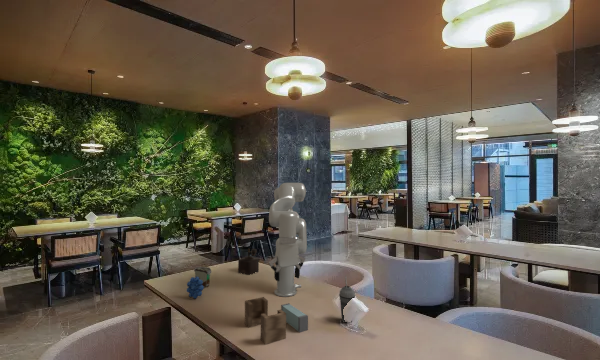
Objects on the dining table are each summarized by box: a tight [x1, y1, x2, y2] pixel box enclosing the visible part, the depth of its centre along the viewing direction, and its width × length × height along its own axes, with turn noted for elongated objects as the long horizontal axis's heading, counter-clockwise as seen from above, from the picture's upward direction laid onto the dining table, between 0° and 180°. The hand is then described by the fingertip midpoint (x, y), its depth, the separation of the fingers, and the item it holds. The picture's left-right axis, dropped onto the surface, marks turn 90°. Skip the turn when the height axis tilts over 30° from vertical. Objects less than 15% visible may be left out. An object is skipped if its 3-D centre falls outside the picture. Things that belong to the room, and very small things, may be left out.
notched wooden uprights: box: [244, 296, 287, 345], centre depth 132 cm, size 9×21×10 cm, turn 32°
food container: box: [193, 266, 212, 288], centre depth 191 cm, size 12×6×10 cm, turn 58°
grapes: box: [186, 276, 205, 300], centre depth 169 cm, size 12×7×12 cm, turn 63°
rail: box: [280, 302, 309, 333], centre depth 139 cm, size 4×16×6 cm, turn 32°
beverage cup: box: [338, 275, 356, 323], centre depth 142 cm, size 7×7×20 cm
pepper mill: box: [237, 248, 260, 276], centre depth 217 cm, size 16×11×18 cm
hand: (287, 279), depth 140 cm, fingers open, 9 cm apart
